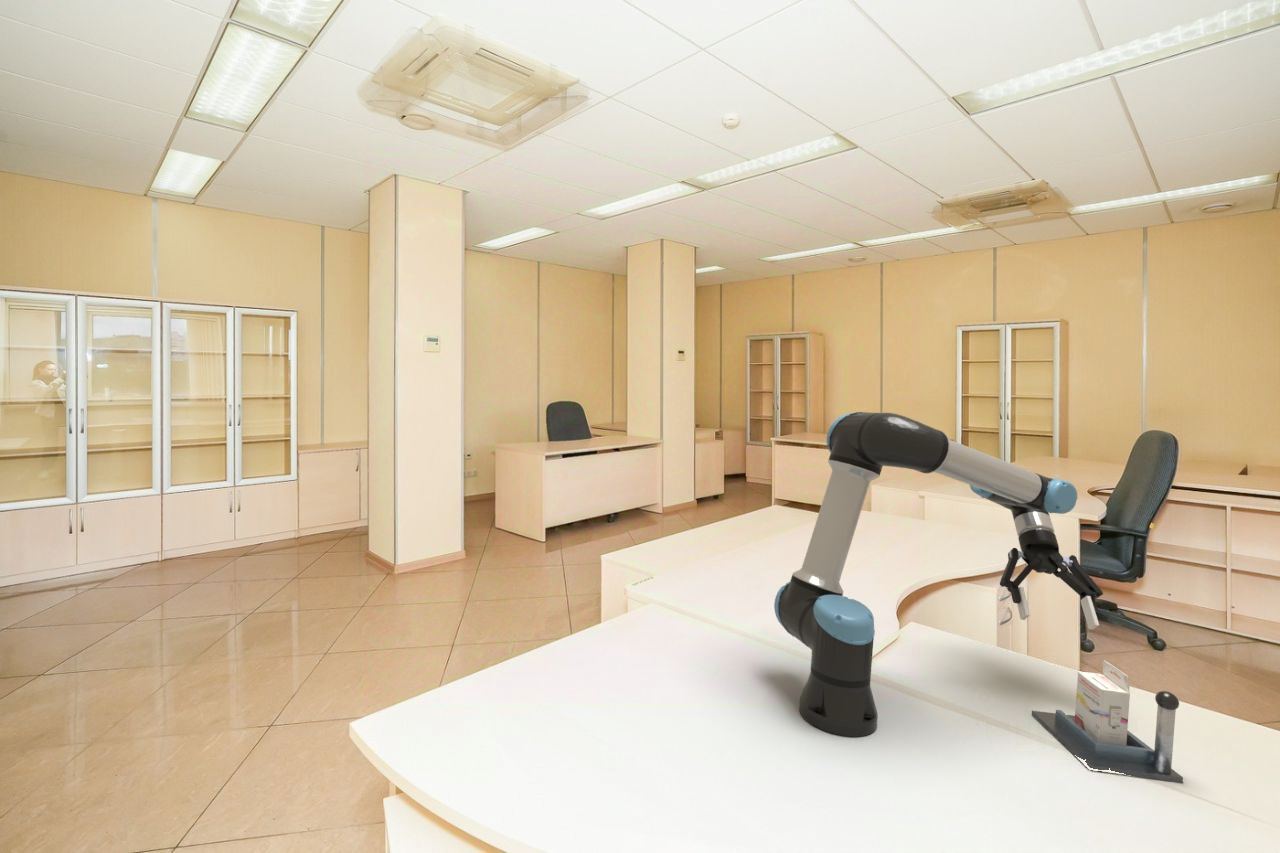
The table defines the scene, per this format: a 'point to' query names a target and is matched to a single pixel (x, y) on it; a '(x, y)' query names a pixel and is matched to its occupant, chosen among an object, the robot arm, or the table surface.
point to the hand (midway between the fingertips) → (1059, 622)
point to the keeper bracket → (1120, 757)
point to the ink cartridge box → (1103, 705)
